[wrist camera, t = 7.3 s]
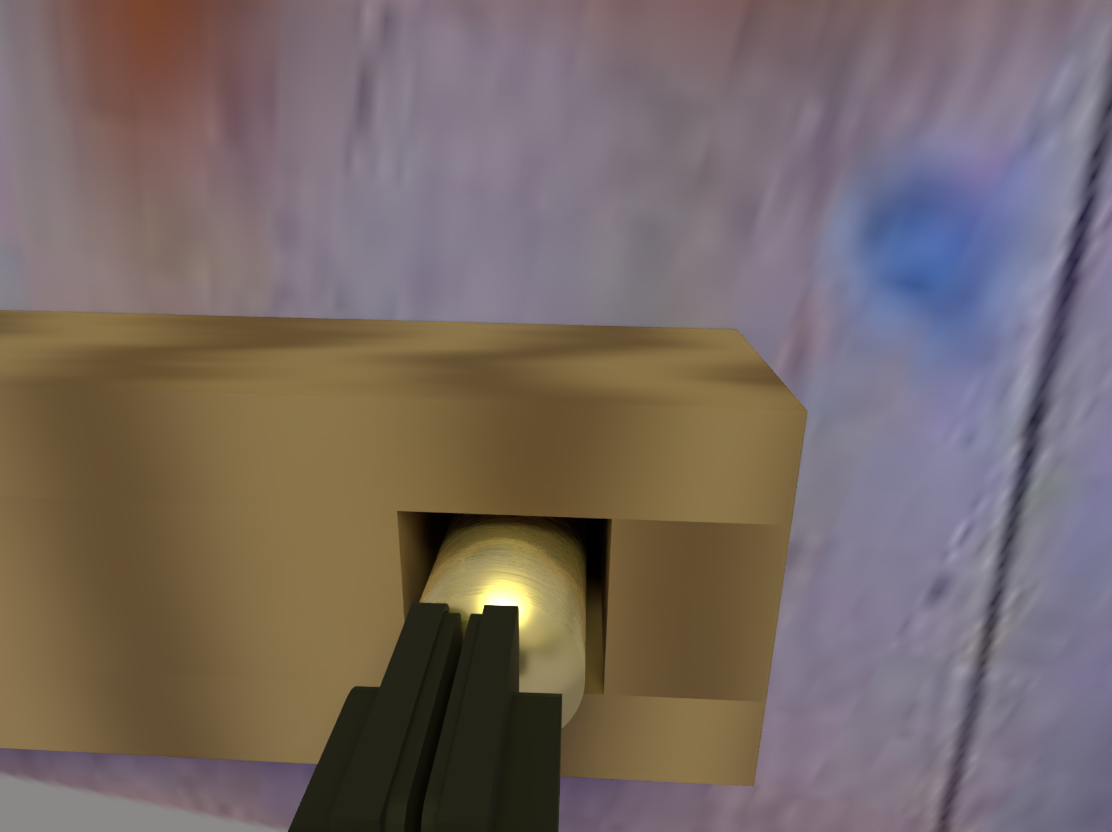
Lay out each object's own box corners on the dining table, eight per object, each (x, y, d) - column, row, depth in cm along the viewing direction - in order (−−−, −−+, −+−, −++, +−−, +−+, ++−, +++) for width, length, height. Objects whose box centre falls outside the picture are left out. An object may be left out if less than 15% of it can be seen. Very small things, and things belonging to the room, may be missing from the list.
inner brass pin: (588, 450, 16) (587, 601, 11) (585, 563, 17) (582, 756, 12) (460, 446, 17) (392, 592, 11) (464, 559, 18) (403, 746, 12)
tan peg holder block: (736, 329, 17) (807, 411, 12) (707, 609, 20) (754, 786, 14) (-210, 304, 18) (-570, 368, 13) (-116, 575, 21) (-377, 728, 15)
